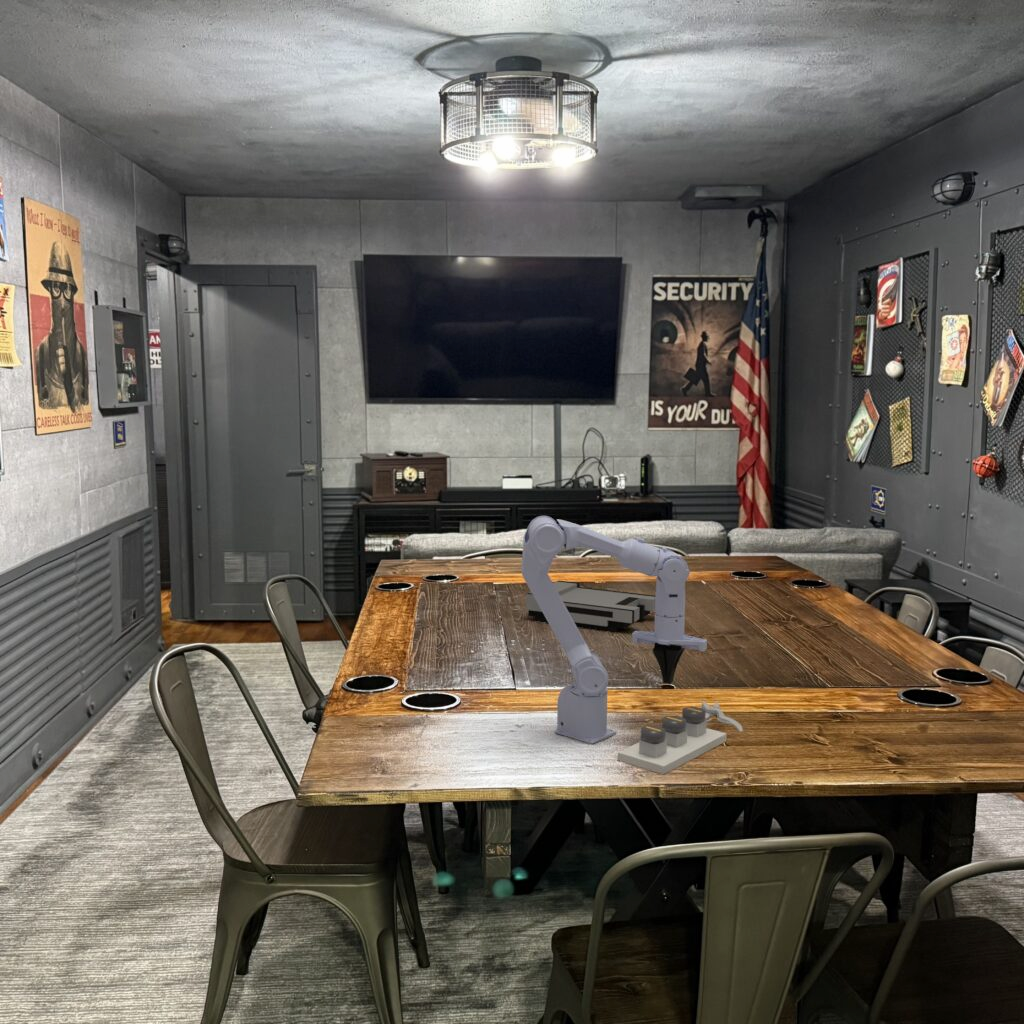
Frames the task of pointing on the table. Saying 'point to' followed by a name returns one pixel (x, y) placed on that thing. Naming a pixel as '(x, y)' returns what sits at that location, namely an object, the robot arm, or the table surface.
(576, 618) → the game console
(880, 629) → the table surface
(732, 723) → the pliers
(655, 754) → the knob mount
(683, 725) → the knob middle
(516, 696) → the table surface
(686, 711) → the knob far
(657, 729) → the knob near
